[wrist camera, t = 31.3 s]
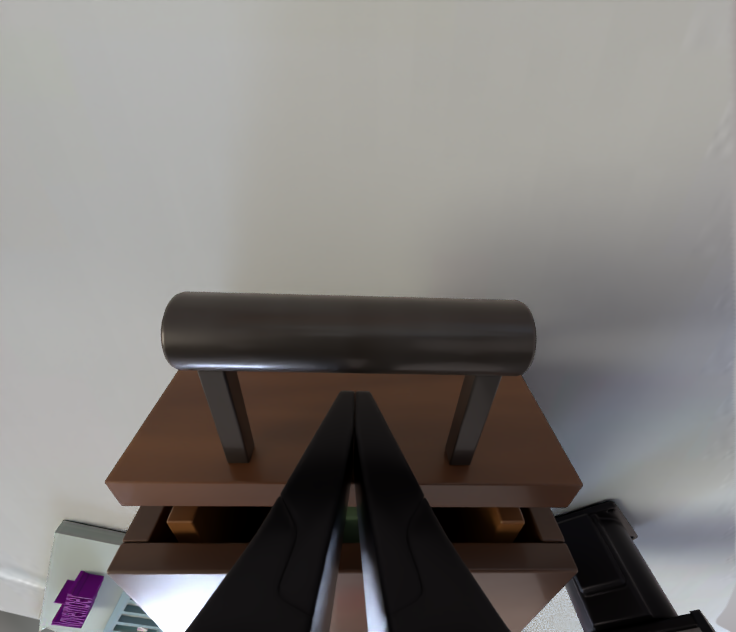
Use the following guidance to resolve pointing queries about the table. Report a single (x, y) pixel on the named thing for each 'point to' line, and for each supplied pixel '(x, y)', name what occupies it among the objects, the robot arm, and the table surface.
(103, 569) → the calendar
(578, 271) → the table surface
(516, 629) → the cabinet
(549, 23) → the table surface
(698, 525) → the table surface
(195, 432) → the drawer
